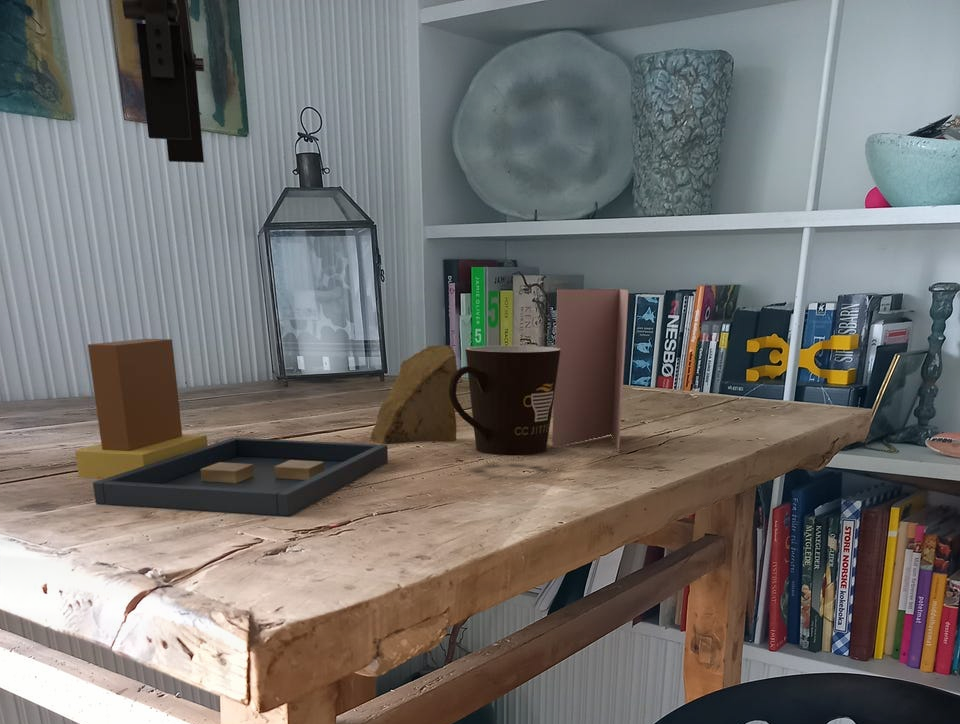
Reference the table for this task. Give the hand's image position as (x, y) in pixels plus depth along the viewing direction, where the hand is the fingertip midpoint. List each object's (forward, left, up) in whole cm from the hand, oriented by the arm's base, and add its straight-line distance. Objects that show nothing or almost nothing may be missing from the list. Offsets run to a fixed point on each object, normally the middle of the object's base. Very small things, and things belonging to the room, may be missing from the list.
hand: (179, 151), depth 69 cm
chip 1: (+4, -4, -24) cm, 24 cm away
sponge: (-5, -1, -24) cm, 25 cm away
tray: (+6, -4, -24) cm, 26 cm away
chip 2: (+9, -1, -24) cm, 25 cm away
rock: (+11, +21, -25) cm, 34 cm away
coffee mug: (+21, +15, -25) cm, 36 cm away
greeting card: (+30, +27, -25) cm, 48 cm away
